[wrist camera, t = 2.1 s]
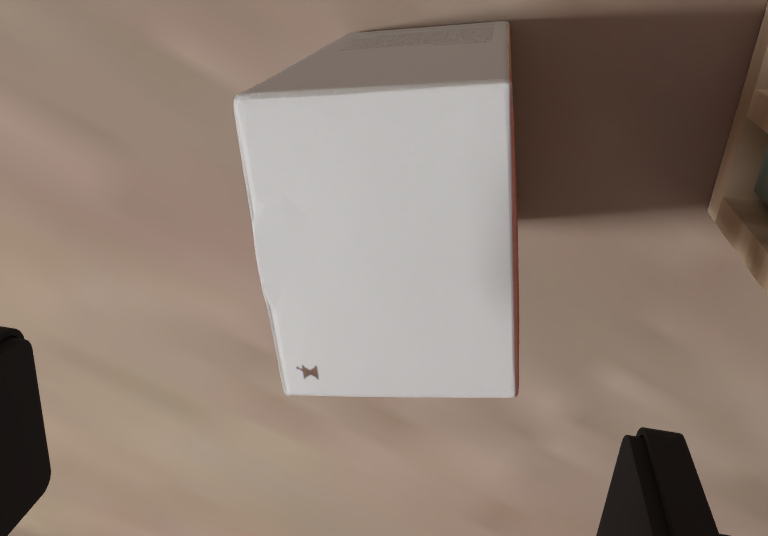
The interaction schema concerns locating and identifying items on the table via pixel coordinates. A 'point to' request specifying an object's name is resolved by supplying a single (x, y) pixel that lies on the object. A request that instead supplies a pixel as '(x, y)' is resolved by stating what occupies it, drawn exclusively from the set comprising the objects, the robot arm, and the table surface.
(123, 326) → the table surface
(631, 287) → the table surface
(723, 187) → the book rack
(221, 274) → the table surface
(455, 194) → the small box
